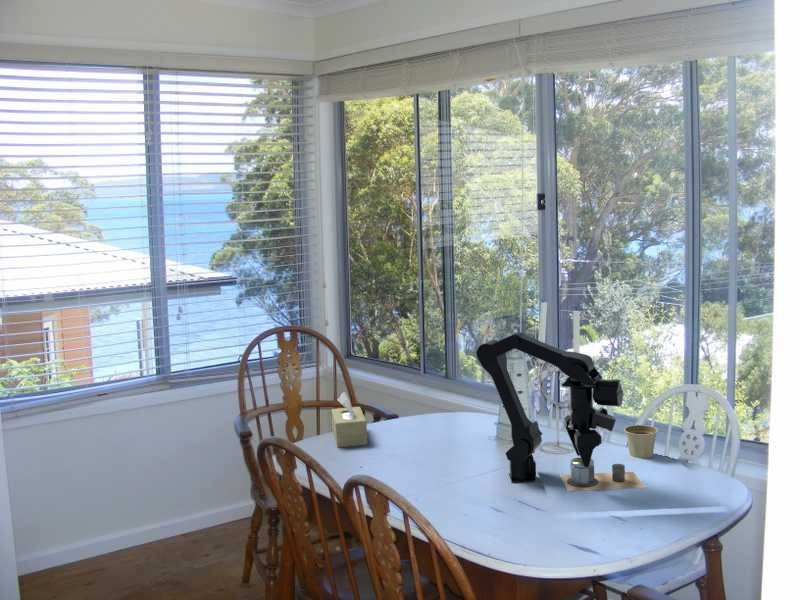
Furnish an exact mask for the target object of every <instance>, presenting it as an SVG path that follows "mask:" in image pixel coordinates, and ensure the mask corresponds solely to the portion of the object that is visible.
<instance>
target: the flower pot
mask: <svg viewBox="0 0 800 600" xmlns="http://www.w3.org/2000/svg"><path fill="white" fill-rule="evenodd" d="M623 431H624V432H625V435H626V436H625V437H626V438H627V444H628V451H629V456H631V457H633V458H638V459H648V458H652V457H653V456H654V455H653V454H654V448H655V442H656V438H657V434H658V433H659V429H658V428H657V427H655V426H651V425H646V424H645V425H644V424H634V425H633V424H632V425H627V426H625V427H624V429H623Z"/></svg>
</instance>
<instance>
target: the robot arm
mask: <svg viewBox="0 0 800 600" xmlns="http://www.w3.org/2000/svg"><path fill="white" fill-rule="evenodd" d="M513 350H518V351H520V352H523V353H524V354H526V355H529V356H531V357H534V358H536V359H539V360H540V361H543V362H546V363H548V364H550V365H553V366H554V367H556V368H558V369H559V371H561V372H562V373H563V374H564V375H566V376H567V377H566V380H565V381H564V382H563V383H562V384H561V386H562V388H563V387H565V388H569V396H570V397H569V399H570V400H569V401H570V402H569V403H570V405H568V410H569V411H570V414H568V415H566V416H565V417H564V418H563V425H564V427H565V430H566V432H567V433H566V434H567V435H568V437H569V439H570V442H571V443H572V446H573V448H574V451H575V453H576V455H577V456H578V457H579V458H581V459H582V462H583V464H584V467H589V464H590V460H591V459H592V455H593V452H594V449H595V448H597V447H599V446H600V445H601V444H602V443H603V442H602V438H603V437H602V435H601V434H600V433H599V431H597V430H596V429H597V427H598V428H601V429H605V430H607V431H609V432H612V431H613V429H614V427H615V424H616V420H617V419H616V418H615V417H614V416H613V415H611V414H608V409H607V408H604V407H600V408H598V410H596V409H595V408H594V407H593V404H594V403H595V404H596V405H598V406H609V407H617V408H618V407H621V406H622V405H623V400H624V399H623V398H624V391H623V387H622V384H621V380H620V379H605V378H603V376H602V375H601V374H600V373H601V372H599V371H598V370H597V368H596V367H595V363H594V361H593V358H592V357H591V356H589V355H588V354H585V353H580V352H577V351H567V350H563V349H559V348H557V347H555V346H553V345H550V344H548V343H545V342H543V341H540V340H539V339H535V338H533V337H531V336H528V335H527V334H525V333H523V332H520V331H516V332H514V333H512V334H510V335H509V336H506V337H504V338H503V339H499V340H497V339H491V340H489V341H486V342H484V343H482V344H481V345H479V346H478V348H477V349H476V353H475V354H476V358H477V360H478V362H479V363H480V365H481V368H482V369H484V370H485V371H486V373H488V375H490V377H491V379H492V382H493V384H494V386H495V389H496V391H497V393H498V395H499V398H500V401H501V403H502V405H503V408H504V410H505V413H506V415H507V418H508V420H509V422H510V427H511V429H510V431H511V433H510V434H511V441H512V444H513V446H511V447H510V448H509V449H508V450H507V451H506V452H505V456H506V459H507V460H508V461H509V473H508V476H509V479H510V481H511V483H525V482H527V483H528V482H536V477H537V463H536V461H535V459H534V456H533V454H535V452H536V450H537V449H538V448H539V447H540V446H541V443H542V441H543V440H542V439H543V437H542V435H543V432H542V431H541V430H540V427H539V424H538V421H536V420H535V421H531V420H530V419H529V418H528V417H527V414H526V412H525V409H524V407H523V404H522V403H521V399H520V397H519V395H518V393H517V390H516V388H515V385H514V383H513V381H512V378H511V375H510V373H509V371H508V360H507V359H508V357H507V354H506V353H508V352H510V351H513ZM593 401H594V402H593Z"/></svg>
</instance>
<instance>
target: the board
mask: <svg viewBox="0 0 800 600" xmlns="http://www.w3.org/2000/svg"><path fill="white" fill-rule="evenodd" d="M611 466H612V467H611V470H612V471H611V472H597V473H595V472H594V483H592V484H589V485H579V484H575V483H572V481H571V474H559V477H560V478H561V481H562V482H563V484H564V486H565V488H566V489H567V492H577V491H579V492H580V491H600V490H602V491H603V490H604V491H605V490H622V489H623V490H624V489H643V488H644V489H645V488H646V486H645V484H644V483H643V482H642V481H641V479H640V478H639V477H638V475H636V473H635V472H634V471H626V469H625V467H626V466H625V464H621V463H613V464H612V465H611Z"/></svg>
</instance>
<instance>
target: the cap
mask: <svg viewBox="0 0 800 600" xmlns="http://www.w3.org/2000/svg"><path fill="white" fill-rule="evenodd" d="M569 465H570V475H571V481H572V483H575V484H579V485H589V484H592V483H594V473H595V461H594V460H593V459H592V458H591V460H590V464H589V467H584V464H583V462H582V459H581V457H574V458H572V459H570V464H569Z"/></svg>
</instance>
